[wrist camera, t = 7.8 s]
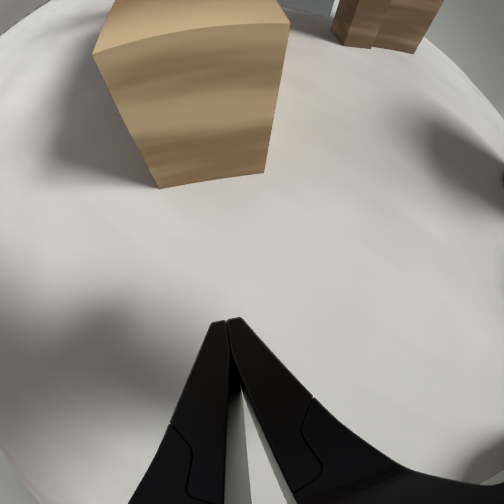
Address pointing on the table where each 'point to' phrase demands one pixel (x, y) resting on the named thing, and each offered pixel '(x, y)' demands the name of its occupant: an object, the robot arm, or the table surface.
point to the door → (309, 6)
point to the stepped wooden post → (384, 23)
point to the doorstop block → (195, 82)
